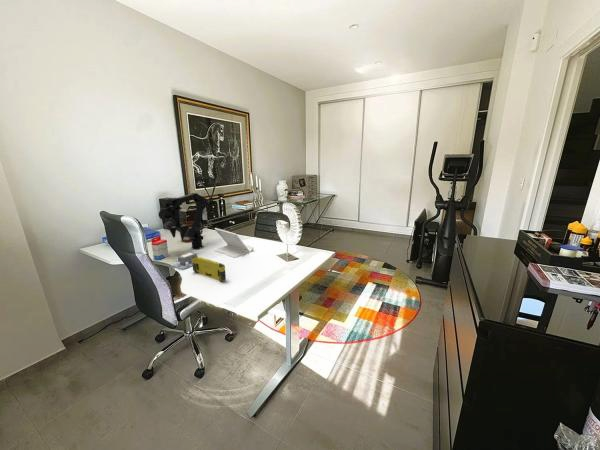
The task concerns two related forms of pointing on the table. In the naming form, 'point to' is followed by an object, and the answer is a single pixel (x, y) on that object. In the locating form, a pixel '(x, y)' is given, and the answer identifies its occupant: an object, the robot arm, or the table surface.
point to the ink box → (159, 248)
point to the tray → (181, 265)
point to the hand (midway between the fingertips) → (178, 238)
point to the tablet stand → (232, 244)
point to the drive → (186, 258)
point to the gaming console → (209, 268)
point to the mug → (186, 238)
